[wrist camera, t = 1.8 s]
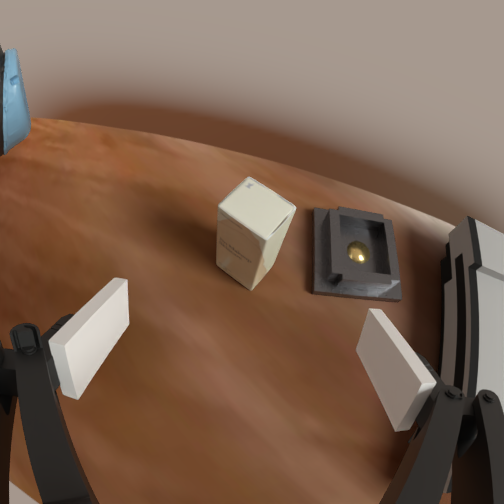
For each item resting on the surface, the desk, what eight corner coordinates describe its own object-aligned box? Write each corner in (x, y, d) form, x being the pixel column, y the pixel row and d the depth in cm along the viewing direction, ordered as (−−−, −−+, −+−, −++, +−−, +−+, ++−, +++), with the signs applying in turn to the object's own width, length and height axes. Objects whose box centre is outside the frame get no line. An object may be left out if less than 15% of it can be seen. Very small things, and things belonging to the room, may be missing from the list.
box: (214, 264, 33) (213, 202, 24) (239, 238, 35) (247, 172, 25) (252, 293, 32) (267, 240, 22) (276, 265, 34) (298, 205, 24)
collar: (311, 294, 33) (319, 283, 30) (312, 212, 38) (318, 197, 35) (397, 302, 33) (410, 293, 30) (388, 225, 38) (398, 213, 36)
